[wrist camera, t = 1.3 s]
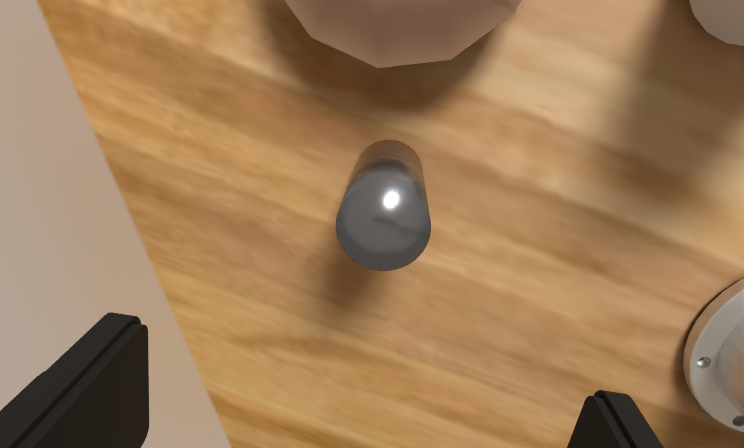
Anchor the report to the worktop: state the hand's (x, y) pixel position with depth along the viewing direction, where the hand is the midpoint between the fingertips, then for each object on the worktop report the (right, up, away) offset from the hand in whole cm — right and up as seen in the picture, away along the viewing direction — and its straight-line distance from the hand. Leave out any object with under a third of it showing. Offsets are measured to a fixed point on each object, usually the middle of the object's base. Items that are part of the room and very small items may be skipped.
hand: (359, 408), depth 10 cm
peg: (+1, +7, +19) cm, 20 cm away
